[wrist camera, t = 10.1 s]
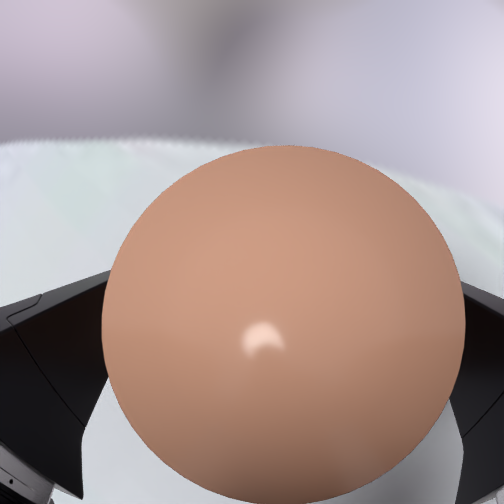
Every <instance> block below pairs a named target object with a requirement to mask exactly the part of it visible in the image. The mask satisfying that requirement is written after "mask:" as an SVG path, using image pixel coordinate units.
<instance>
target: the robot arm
mask: <svg viewBox="0 0 504 504" xmlns="http://www.w3.org/2000/svg"><path fill="white" fill-rule="evenodd" d="M110 272H111V270H109V271H106V272H103V273H100V274H97V275H94V276H91V277H88V278H85V279H83V280H80V281H77V282H74V283H71V284H68V285H65V286H62V287H60V288H57V289H54V290H51V291H48V292H45V293H43V294H39V295H36V296H33V297H30V298H27V299H24V300H22V301H19V302H16V303H13V304H10V305H7V306H3V307H0V504H54V502H53V500H52V499H51V496H52V493H53V490H54V488H56V489H58V490H60V491H62V492H64V493H67V494H69V495H71V496H74V497H76V498H78V499H81V500H82V499H83V479H82V448H81V446H82V437H83V433H84V430H85V427H86V426H87V423H88V421H89V419H90V417H91V414H92V412H93V410H94V407H95V405H96V403H97V401H98V399H99V396H100V394H101V392H102V390H103V388H104V385H105V383H106V381H107V379H108V377H109V376H108V372H107V368H106V364H105V359H104V352H103V344H102V311H103V303H104V296H105V290H106V287H107V283H108V279H109V276H110ZM460 282H461V281H460ZM461 287H462V292H463V297H464V307H465V339H464V349H463V354H462V359H461V364H460V369H459V372H458V375H457V378H456V381H455V384H454V387H453V390H452V393H451V395H450V397H449V400H450V403H451V406H452V409H453V412H454V415H455V418H456V422H457V425H458V428H459V432H460V435H461V438H462V443H463V451H464V454H463V463H462V469H461V475H460V481H459V487H458V492H457V497H456V501H455V504H481V503H483V502H486V501H488V500H491V499H493V498H495V497H496V502H497V504H504V299H502V298H500V297H497V296H495V295H493V294H490V293H488V292H486V291H483V290H481V289H478V288H476V287H474V286H471V285H469V284H466V283H464V282H461Z"/></svg>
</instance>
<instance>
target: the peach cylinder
mask: <svg viewBox="0 0 504 504" xmlns="http://www.w3.org/2000/svg"><path fill="white" fill-rule="evenodd" d="M464 339H465V307H464V297H463V292H462V287H461V282H460V277H459V274H458V271H457V268H456V265H455V262H454V260H453V257H452V254H451V252H450V250H449V248H448V246H447V244H446V242H445V240H444V238H443V236H442V234H441V233H440V231H439V230H438V228H437V227H436V225H435V224H434V222H433V221H432V219H431V218H430V216H429V215H428V214H427V213H426V211H425V210H424V209H423V208H422V207H421V206H420V205H419V203H418V202H417V201H416V200H415V199H414V198H413V197H412V196H411V195H410V194H409V193H408V192H406V191H405V190H404V189H403V188H402V187H401V186H400V185H398V184H397V183H396V182H394V181H393V180H392V179H390V178H389V177H387V176H386V175H384V174H383V173H381V172H380V171H378V170H376V169H374V168H372V167H370V166H368V165H366V164H364V163H362V162H360V161H358V160H356V159H353V158H351V157H348V156H345V155H342V154H339V153H336V152H332V151H327V150H322V149H318V148H313V147H302V146H290V145H288V146H266V147H260V148H254V149H248V150H243V151H240V152H236V153H233V154H229V155H226V156H223V157H220V158H218V159H216V160H213V161H211V162H209V163H207V164H204V165H202V166H200V167H198V168H197V169H195V170H193V171H192V172H190V173H188V174H187V175H185V176H183V177H182V178H180V179H179V180H178V181H176V182H175V183H174V184H173V185H171V186H170V187H169V188H167V189H166V190H165V191H164V192H162V193H161V194H160V195H159V196H158V197H157V198H156V199H155V200H154V201H153V202H152V203H151V205H150V206H149V207H148V208H147V209H146V210H145V211H144V212H143V214H142V215H141V216H140V218H139V219H138V220H137V222H136V223H135V224H134V225H133V227H132V228H131V230H130V232H129V233H128V235H127V237H126V239H125V240H124V242H123V244H122V246H121V247H120V250H119V252H118V254H117V257H116V259H115V261H114V264H113V266H112V269H111V272H110V276H109V279H108V283H107V287H106V290H105V296H104V303H103V311H102V344H103V352H104V359H105V364H106V368H107V372H108V376H109V379H110V383H111V386H112V389H113V391H114V393H115V396H116V398H117V401H118V403H119V405H120V407H121V409H122V411H123V413H124V414H125V416H126V418H127V419H128V421H129V423H130V424H131V426H132V428H133V429H134V430H135V432H136V433H137V434H138V435H139V437H140V438H141V439H142V440H143V442H144V443H145V444H146V445H147V447H148V448H149V449H150V450H151V451H153V452H154V453H155V454H156V455H157V456H158V457H159V458H160V459H161V460H162V461H163V462H164V463H165V464H167V465H168V466H169V467H171V468H172V469H173V470H175V471H176V472H177V473H179V474H180V475H182V476H183V477H184V478H186V479H188V480H190V481H192V482H193V483H195V484H197V485H199V486H201V487H203V488H205V489H207V490H210V491H212V492H215V493H217V494H220V495H223V496H226V497H228V498H232V499H236V500H241V501H245V502H250V503H257V504H306V503H312V502H317V501H323V500H327V499H330V498H334V497H337V496H340V495H343V494H346V493H349V492H351V491H353V490H356V489H358V488H360V487H362V486H364V485H366V484H368V483H370V482H372V481H374V480H375V479H377V478H378V477H380V476H382V475H383V474H385V473H386V472H388V471H389V470H391V469H392V468H393V467H394V466H396V465H397V464H398V463H399V462H400V461H402V460H403V459H404V458H405V457H406V456H407V455H408V454H410V453H411V452H412V451H413V450H414V448H415V447H416V446H417V445H418V444H419V443H420V442H421V441H422V440H423V438H424V437H425V436H426V435H427V434H428V432H429V431H430V429H431V428H432V426H433V425H434V424H435V422H436V421H437V419H438V418H439V416H440V414H441V413H442V411H443V409H444V407H445V405H446V403H447V401H448V399H449V397H450V395H451V393H452V390H453V387H454V384H455V381H456V378H457V375H458V372H459V369H460V364H461V359H462V354H463V349H464Z"/></svg>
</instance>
